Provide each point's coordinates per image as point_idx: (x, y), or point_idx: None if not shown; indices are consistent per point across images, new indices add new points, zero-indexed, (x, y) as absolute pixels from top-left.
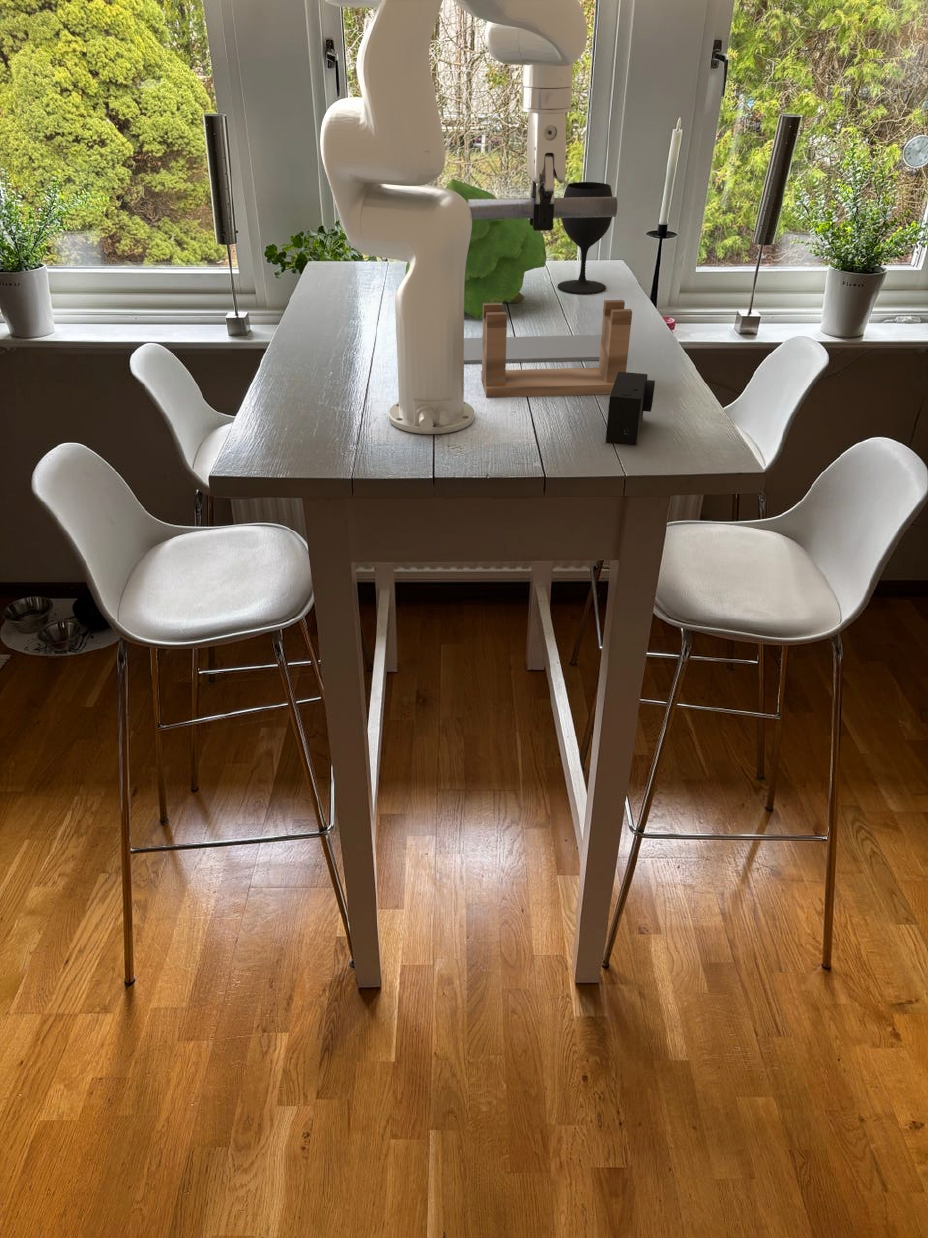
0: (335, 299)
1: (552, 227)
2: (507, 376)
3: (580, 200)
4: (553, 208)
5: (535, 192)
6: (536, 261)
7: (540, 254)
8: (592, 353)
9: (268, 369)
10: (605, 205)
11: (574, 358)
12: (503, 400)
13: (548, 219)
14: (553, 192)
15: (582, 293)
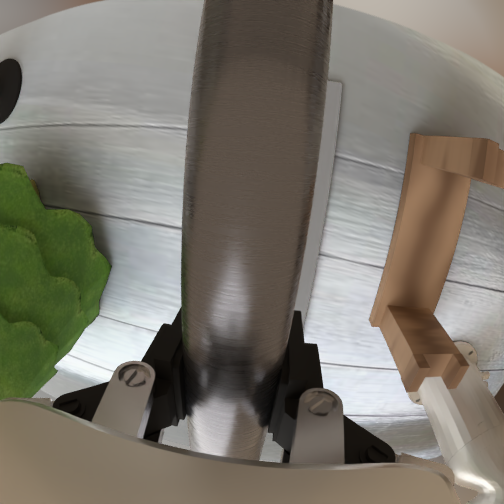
0: (59, 381)
1: (300, 314)
2: (403, 299)
3: (290, 214)
4: (305, 365)
5: (153, 431)
6: (20, 185)
7: (3, 176)
8: None
9: (267, 460)
10: (330, 34)
11: (332, 167)
12: (437, 306)
13: (317, 356)
14: (387, 450)
15: (19, 90)
